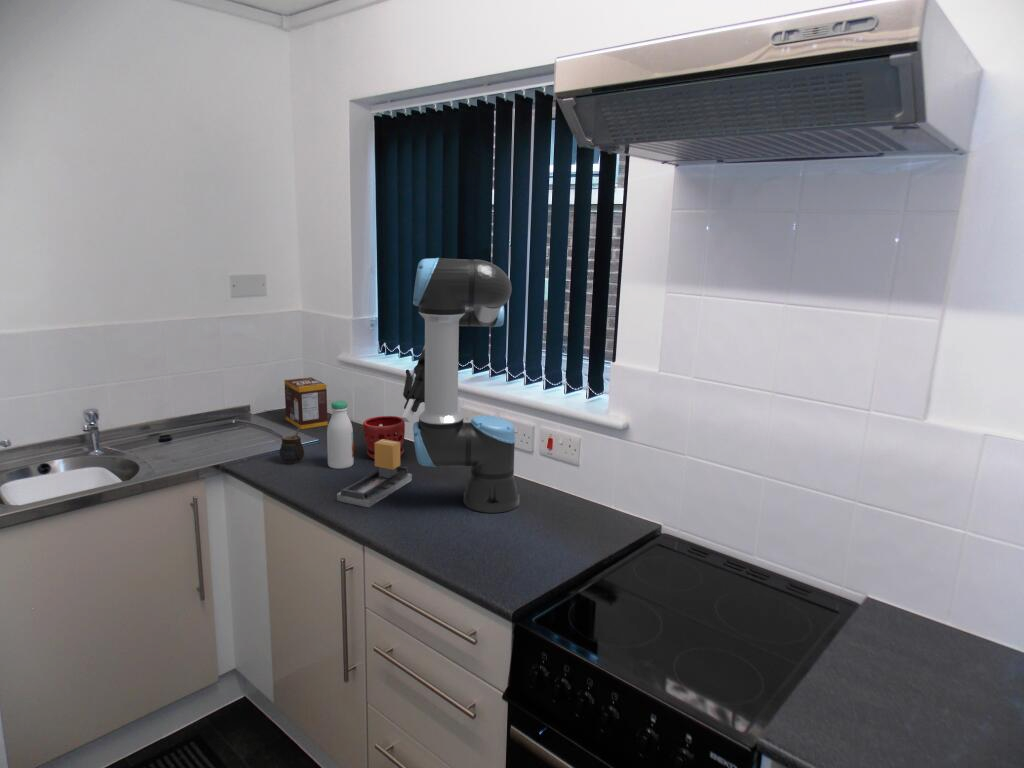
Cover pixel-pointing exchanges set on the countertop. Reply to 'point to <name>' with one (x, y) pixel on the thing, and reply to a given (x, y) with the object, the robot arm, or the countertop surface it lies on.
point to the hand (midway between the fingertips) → (405, 419)
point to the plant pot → (383, 431)
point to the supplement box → (306, 402)
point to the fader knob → (387, 457)
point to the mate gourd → (291, 449)
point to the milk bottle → (340, 437)
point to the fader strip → (374, 488)
